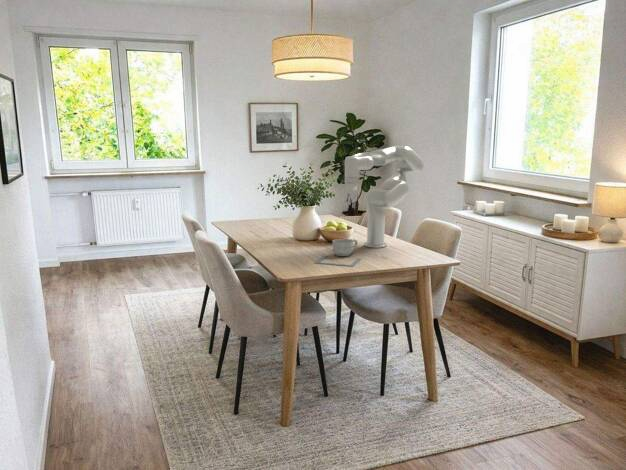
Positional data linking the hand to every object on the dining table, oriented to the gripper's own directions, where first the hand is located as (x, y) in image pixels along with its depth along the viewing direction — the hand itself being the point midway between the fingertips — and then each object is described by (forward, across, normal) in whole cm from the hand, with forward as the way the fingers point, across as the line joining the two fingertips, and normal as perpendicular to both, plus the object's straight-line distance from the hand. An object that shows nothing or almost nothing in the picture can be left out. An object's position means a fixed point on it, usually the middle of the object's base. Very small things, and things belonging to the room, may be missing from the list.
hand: (351, 215), depth 274 cm
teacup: (+19, +10, 0) cm, 22 cm away
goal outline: (+19, +24, 0) cm, 30 cm away
